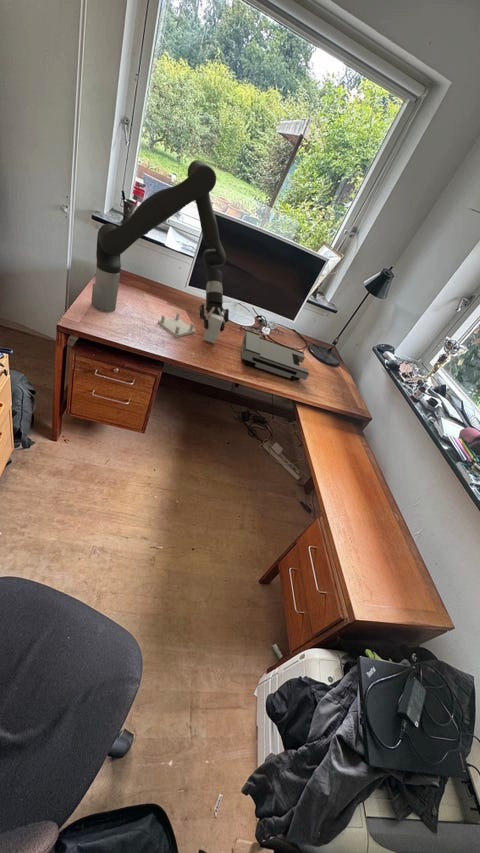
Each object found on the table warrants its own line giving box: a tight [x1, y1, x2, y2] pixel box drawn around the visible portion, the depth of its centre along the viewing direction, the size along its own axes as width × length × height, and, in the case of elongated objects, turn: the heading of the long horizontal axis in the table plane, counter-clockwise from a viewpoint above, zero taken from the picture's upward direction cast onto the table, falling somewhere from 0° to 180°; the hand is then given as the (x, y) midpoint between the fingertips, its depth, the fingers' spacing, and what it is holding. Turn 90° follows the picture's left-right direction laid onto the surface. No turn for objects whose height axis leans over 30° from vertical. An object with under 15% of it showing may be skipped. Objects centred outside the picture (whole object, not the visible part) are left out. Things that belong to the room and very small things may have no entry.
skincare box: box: [202, 313, 224, 344], centre depth 157 cm, size 6×4×12 cm
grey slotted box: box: [240, 329, 310, 382], centre depth 166 cm, size 21×32×8 cm, turn 89°
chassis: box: [157, 312, 196, 338], centre depth 159 cm, size 12×12×4 cm
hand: (214, 330), depth 156 cm, fingers closed on skincare box, 7 cm apart
